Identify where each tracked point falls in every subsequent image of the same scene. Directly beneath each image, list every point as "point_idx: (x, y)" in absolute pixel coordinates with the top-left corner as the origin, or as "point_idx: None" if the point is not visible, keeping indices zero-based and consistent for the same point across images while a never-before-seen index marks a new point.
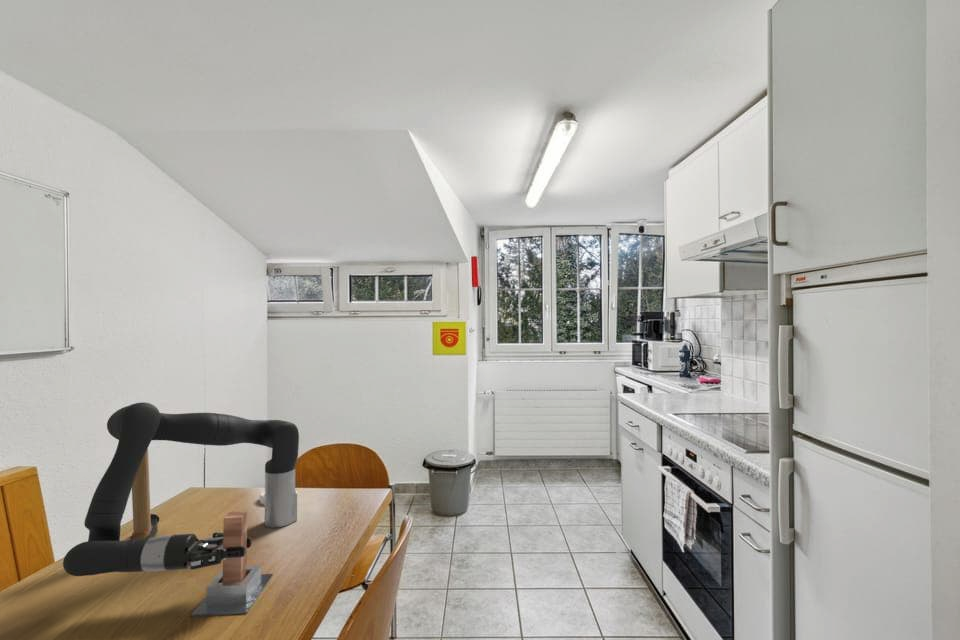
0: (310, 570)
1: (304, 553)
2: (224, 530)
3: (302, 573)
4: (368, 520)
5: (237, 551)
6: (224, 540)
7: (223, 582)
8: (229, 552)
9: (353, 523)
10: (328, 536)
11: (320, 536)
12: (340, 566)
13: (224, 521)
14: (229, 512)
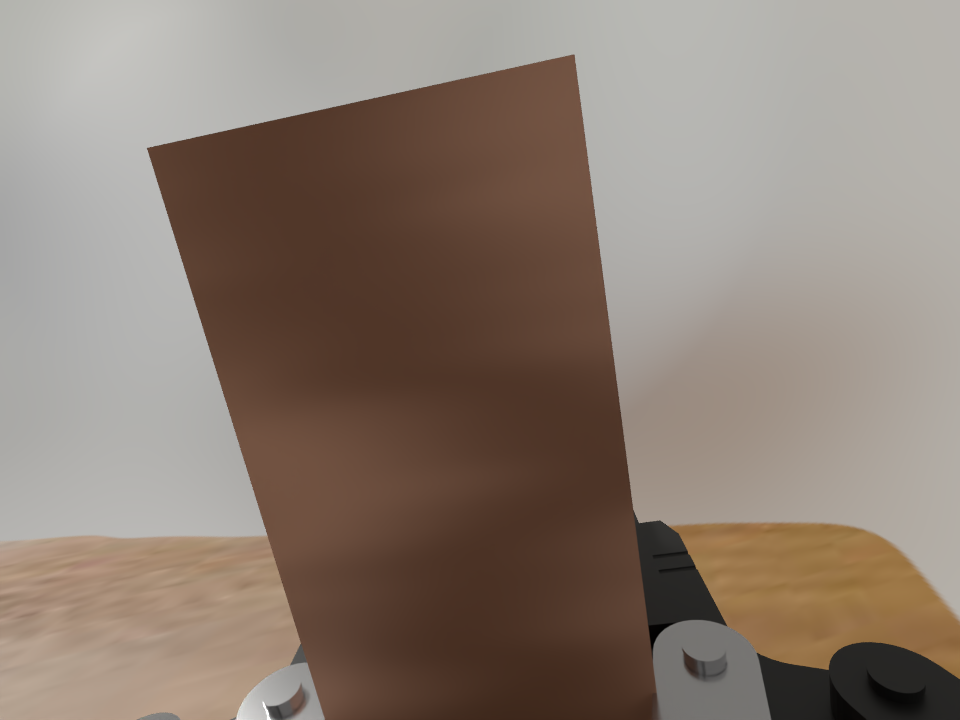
0: None
1: (161, 688)
2: (612, 362)
3: None
4: (61, 539)
5: (683, 545)
6: (633, 561)
7: None
8: (719, 618)
9: (27, 575)
10: (57, 631)
11: (13, 666)
12: None
13: (578, 151)
14: (203, 139)
